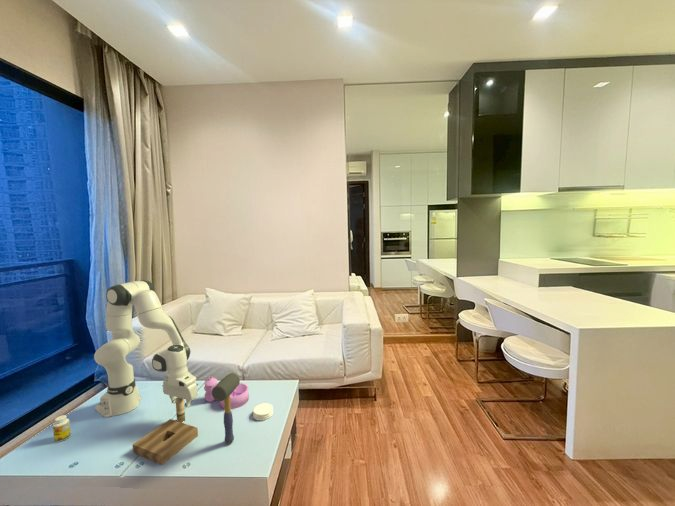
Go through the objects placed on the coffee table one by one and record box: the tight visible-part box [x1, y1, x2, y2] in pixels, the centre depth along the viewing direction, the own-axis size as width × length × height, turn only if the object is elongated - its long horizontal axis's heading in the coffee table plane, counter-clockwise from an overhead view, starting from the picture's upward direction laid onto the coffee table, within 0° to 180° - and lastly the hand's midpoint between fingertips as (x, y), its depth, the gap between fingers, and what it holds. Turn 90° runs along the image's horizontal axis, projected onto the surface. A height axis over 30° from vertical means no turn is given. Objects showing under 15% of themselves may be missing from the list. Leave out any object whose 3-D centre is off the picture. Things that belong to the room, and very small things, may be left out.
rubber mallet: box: [212, 372, 241, 445], centre depth 131 cm, size 12×8×30 cm, turn 170°
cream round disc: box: [252, 402, 274, 422], centre depth 151 cm, size 10×10×4 cm
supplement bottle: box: [52, 414, 72, 443], centre depth 137 cm, size 6×6×10 cm
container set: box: [203, 375, 250, 410], centre depth 164 cm, size 25×15×13 cm, turn 82°
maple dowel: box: [175, 397, 186, 423], centre depth 147 cm, size 4×4×12 cm
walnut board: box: [132, 418, 199, 465], centre depth 132 cm, size 18×18×4 cm
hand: (181, 404), depth 147 cm, fingers open, 8 cm apart
